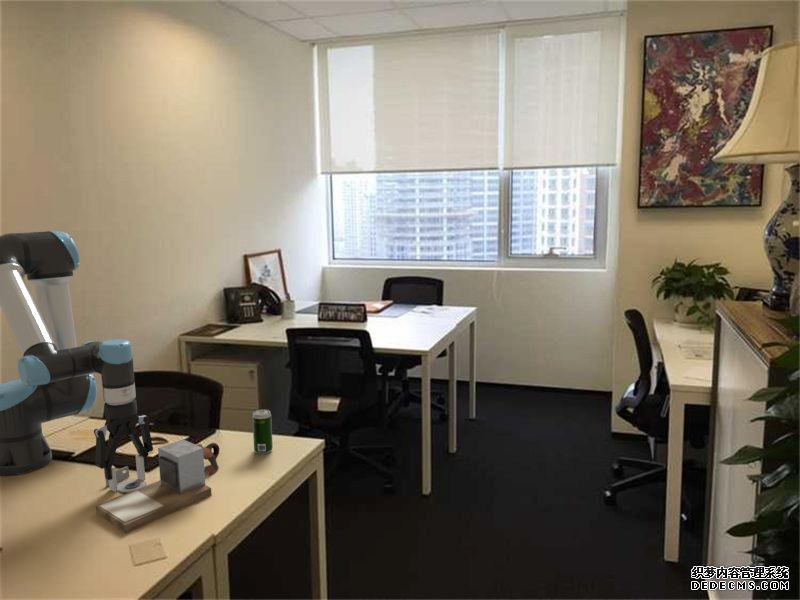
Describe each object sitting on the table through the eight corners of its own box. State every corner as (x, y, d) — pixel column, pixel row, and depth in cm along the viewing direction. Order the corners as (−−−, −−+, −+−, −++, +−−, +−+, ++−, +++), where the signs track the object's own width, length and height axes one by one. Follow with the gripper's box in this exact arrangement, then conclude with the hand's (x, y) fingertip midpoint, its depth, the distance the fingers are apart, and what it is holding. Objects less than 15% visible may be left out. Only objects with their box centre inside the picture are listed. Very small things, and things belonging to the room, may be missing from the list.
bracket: (129, 497, 156) (128, 484, 156) (105, 487, 162) (104, 474, 161) (151, 486, 162) (150, 474, 161) (128, 477, 167) (127, 465, 167)
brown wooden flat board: (96, 513, 148) (95, 505, 147) (180, 479, 165) (179, 471, 165) (125, 533, 139) (125, 524, 139) (211, 495, 157) (211, 487, 156)
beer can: (272, 453, 181) (271, 414, 179) (254, 455, 180) (252, 416, 178) (272, 446, 186) (271, 408, 184) (254, 448, 185) (252, 410, 183)
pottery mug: (206, 482, 164) (188, 458, 163) (185, 489, 170) (168, 465, 168) (233, 454, 174) (217, 431, 173) (213, 462, 179) (197, 439, 178)
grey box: (158, 485, 157) (155, 448, 156) (185, 474, 163) (182, 439, 162) (178, 496, 152) (175, 458, 150) (205, 484, 158) (203, 447, 156)
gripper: (87, 414, 148) (96, 503, 152) (163, 393, 163) (170, 474, 167) (73, 408, 153) (82, 494, 157) (148, 388, 168) (155, 467, 172)
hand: (127, 484), depth 162 cm, fingers closed on bracket, 7 cm apart
